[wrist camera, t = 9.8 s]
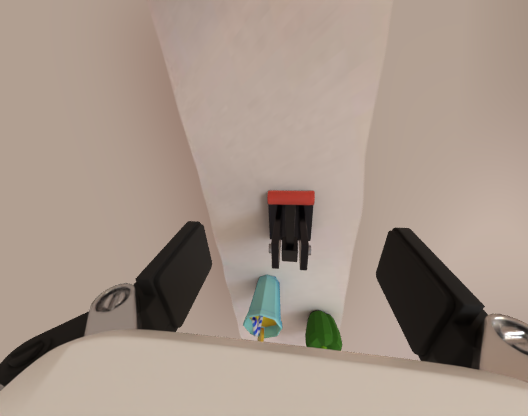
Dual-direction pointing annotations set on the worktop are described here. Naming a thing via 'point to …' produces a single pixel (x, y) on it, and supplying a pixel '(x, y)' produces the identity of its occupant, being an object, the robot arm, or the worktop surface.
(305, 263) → the bracket
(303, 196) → the lever
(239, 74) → the worktop surface
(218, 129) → the worktop surface
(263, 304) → the cup
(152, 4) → the worktop surface
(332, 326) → the bell pepper
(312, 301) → the worktop surface
